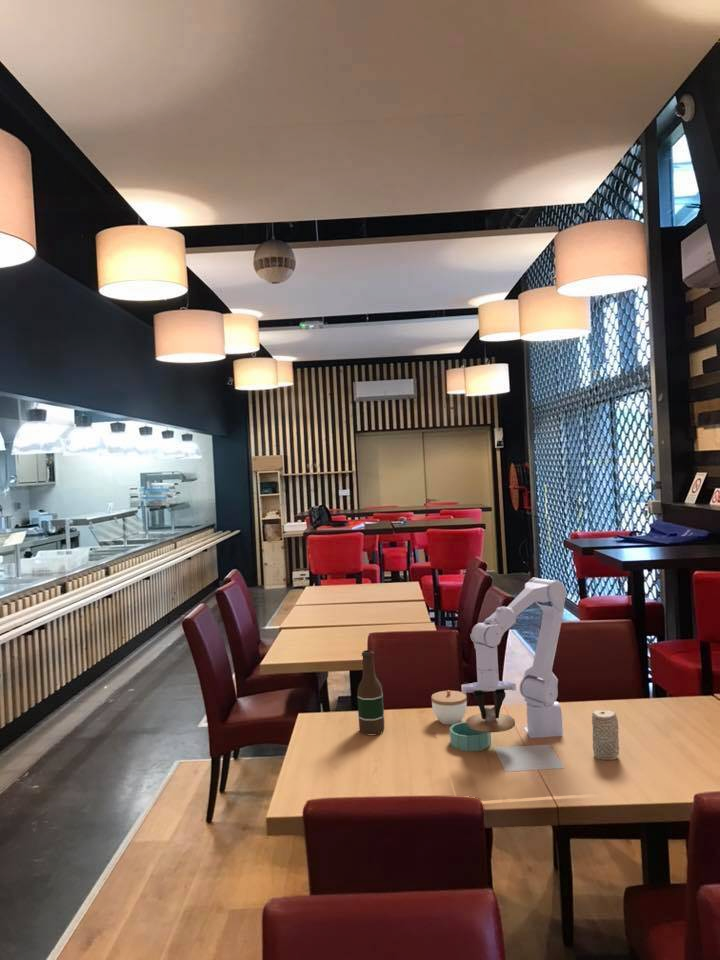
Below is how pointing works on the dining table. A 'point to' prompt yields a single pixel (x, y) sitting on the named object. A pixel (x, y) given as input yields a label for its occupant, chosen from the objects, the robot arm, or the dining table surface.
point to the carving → (605, 734)
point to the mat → (528, 758)
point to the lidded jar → (449, 706)
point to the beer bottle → (370, 698)
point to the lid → (490, 721)
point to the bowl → (468, 738)
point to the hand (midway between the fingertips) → (490, 717)
